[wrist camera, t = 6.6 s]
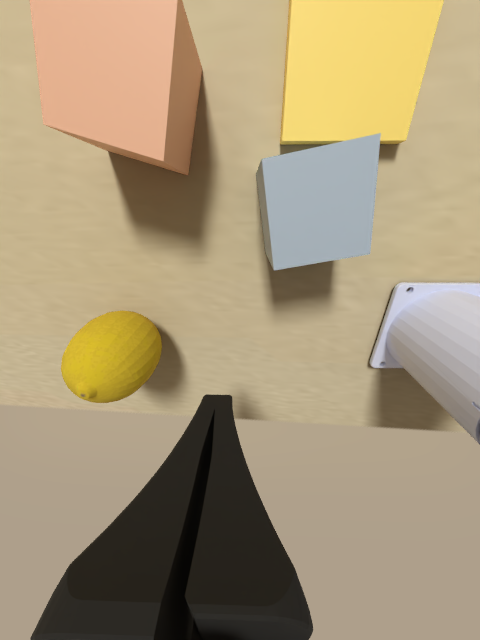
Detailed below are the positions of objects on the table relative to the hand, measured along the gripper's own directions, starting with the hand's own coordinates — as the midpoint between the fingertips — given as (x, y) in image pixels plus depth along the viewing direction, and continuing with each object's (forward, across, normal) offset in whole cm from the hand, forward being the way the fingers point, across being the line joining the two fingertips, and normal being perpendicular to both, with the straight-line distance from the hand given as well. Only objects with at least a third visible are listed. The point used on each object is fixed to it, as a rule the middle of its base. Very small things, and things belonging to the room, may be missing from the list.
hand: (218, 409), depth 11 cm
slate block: (+9, -5, -9) cm, 14 cm away
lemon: (+9, +8, 0) cm, 12 cm away
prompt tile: (+9, -7, -16) cm, 19 cm away
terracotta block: (+9, +4, -14) cm, 17 cm away
